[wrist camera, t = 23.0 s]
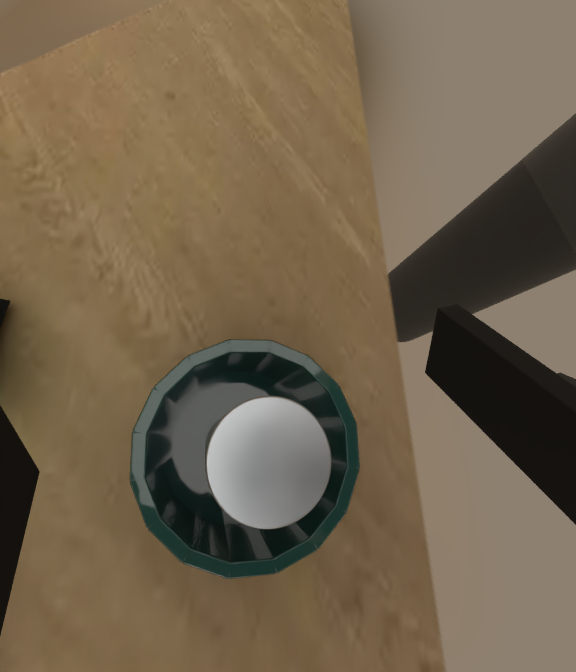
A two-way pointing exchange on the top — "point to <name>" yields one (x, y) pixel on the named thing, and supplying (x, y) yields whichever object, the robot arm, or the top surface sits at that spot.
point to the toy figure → (3, 308)
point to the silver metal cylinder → (267, 462)
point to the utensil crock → (189, 456)
